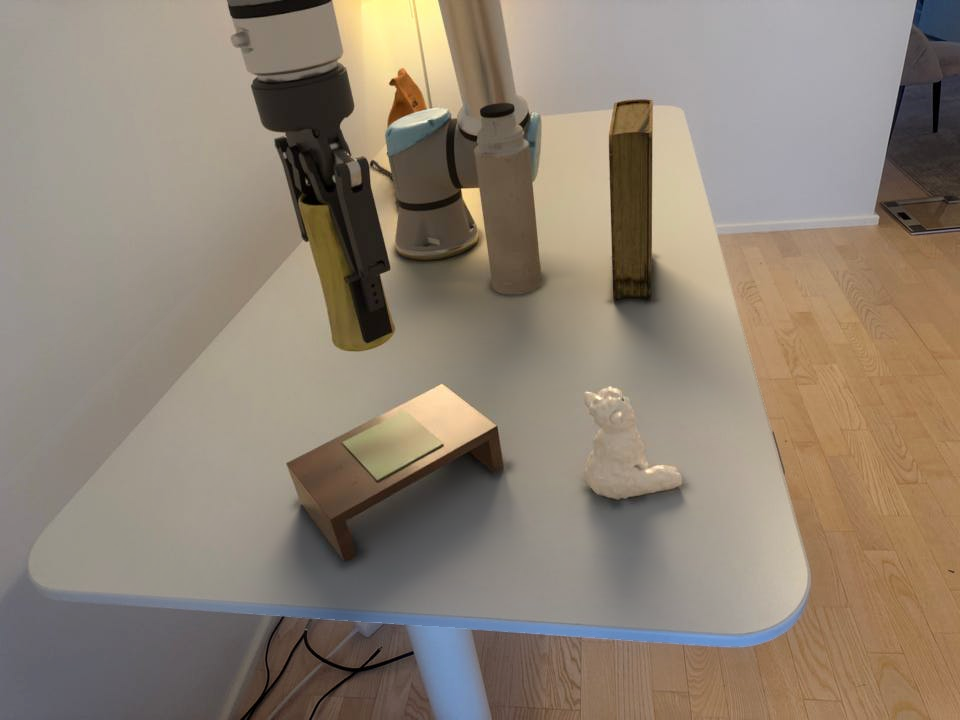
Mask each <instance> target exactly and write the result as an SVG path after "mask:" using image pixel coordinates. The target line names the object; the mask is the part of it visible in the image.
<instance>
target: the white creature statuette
mask: <svg viewBox="0 0 960 720" xmlns="http://www.w3.org/2000/svg"><path fill="white" fill-rule="evenodd" d="M583 400H584V401H583V402H584V405H585V406H586V407H587V408H588V411H589V415H590V416H592V418H593V419H594V420H593V421H594V423H595V425H597V426H598V427H599V428H600V429H599V430H597V431H596V436H595V437H594V438H593V444H594V445H593V449H592V450H591V451H590V453H589V457H588V459H587V461H586V464H585V469H584V472H583V475H584V477H585V482H586V484H587V485H588V486H589V488H590V489H592V491H593V492H594V493H595V494H596V495H598V496H602V497H605V498H608V499H613V500H617V501H618V500H621V499H624V500H626V499H629V497H630V498H633V497H640V496H642V495H643V496H644V495H647V494H654V493H659V492H663V491H670V490H674V489H676V488H677V487H679V486H681V485H682V484H683V477H682V474H681V473H680V472H678V468H677V467H675V466H671V465H666V464H661V465H659V464H657V465H656V464H655V465H654V466H651V467H649V466H650V463H649V462H648V460H647V457H646V456H644V454H643V453H644V452H643V451H644V450H645V449H646V444H644V441H643V439H642V436H641V435H640V434H639V433H640V432H639V431H638V429H637V426H636V425H637V423H636V414H635V411H634V409H633V406H632V405H631V403H630V401H631V400H630V398H629V397H627V396H624V395H623V392H622V390H620V389H618V388H617V387H613V386H611V385H608V386H607V387H604V388H601V389H599V391H598V393H594V392H591V391H585V392H584V393H583Z"/></svg>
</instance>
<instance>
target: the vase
mask: <svg viewBox="0 0 960 720" xmlns="http://www.w3.org/2000/svg"><path fill="white" fill-rule="evenodd" d="M334 190H337V188H336V187H335V188H333V191H334ZM299 208H300V212H301V216H302V219H303V222H304V226H305V229H306V233H307V236H308V240H309V241H308V244H309V247H310V251H311V254H312V258H313V261H314V265H315V267H316V271H317V274H318V277H319V281H320V285H321V289H322V294H323V298H324V302H325V306H326V311H327V316H328V322H329V327H330V333H331V341H332V344H333V345H334V346H335V347H336V348H337V349H339V350H342V351H345V352H355V353H356V352H365V351H369V350H373V349H375V348H378V347H381V346H382V345H384V344H385V343H387V342H388V341H389V340H390V339H391V338H393V335H394V334H395V332H396V326H395V323H394V321H393V318H392V314H391V311H390V307H389V304H388V301H387V296H386V293H385V288H384V285H383V280H382V277H381V275H380V279H381V284H382V288H383V292H384V297H385V301H386V305H387V310H388V314H389V318H390V323H391V327H392V331H393V332H392V333H390V334H387V335H385V336H383V337H381V338H379V339H376V340H374V341H372V342H370V343H368V344H367V343H366V342H364V341H363V337H362V333H361V330H360V326H359V322H358V318H357V314H356V310H355V306H354V302H353V299H352V295H351V291H350V287H349V284H347V283H346V282H345V280H344V278H343V277H346V276H348V275H351V273H350V270H349V267H348V265H347V262H346V259H345V256H344V254H343V251H342V248H341V245H340V243H339V240H338V237H337V235H336V232H335V229H334V226H333V223H332V219H331V215H330V211H329V207H328V205H326V204H325V205H311V204H310V203H309V201H308V198H307V195H306V194H302V195H301V196H300V198H299Z"/></svg>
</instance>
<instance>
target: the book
mask: <svg viewBox="0 0 960 720" xmlns="http://www.w3.org/2000/svg"><path fill="white" fill-rule="evenodd" d="M653 106H654V101H653V100H652V99H643V98H642V99H637V98H636V99H627V100H621V101H617V102H615V103H613V109H612V114H611V121H610V126H609V131H608V165H609V168H608V169H609V198H610V199H609V201H610V202H609V203H610V237H611V238H610V239H611V268H612V269H611V271H612V299H613V301H617V300H620V299H623V298H641V299H645V300H652V269H653V267H652V265H653V263H652V262H653V258H652V257H653V137H654V136H653V133H654V132H653V130H654V127H653V125H654V123H653V121H654V119H653V115H654V113H653V112H654V109H653V108H654V107H653Z"/></svg>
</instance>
